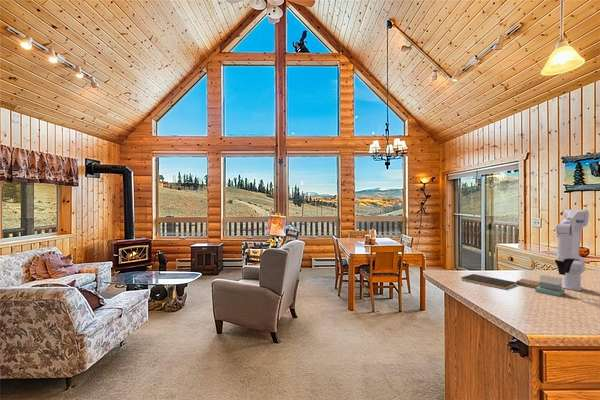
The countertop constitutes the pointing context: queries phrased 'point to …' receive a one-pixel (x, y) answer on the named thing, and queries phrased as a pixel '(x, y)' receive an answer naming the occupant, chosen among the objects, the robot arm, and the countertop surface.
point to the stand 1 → (528, 283)
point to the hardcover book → (489, 281)
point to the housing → (550, 282)
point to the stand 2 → (550, 291)
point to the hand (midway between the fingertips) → (564, 273)
